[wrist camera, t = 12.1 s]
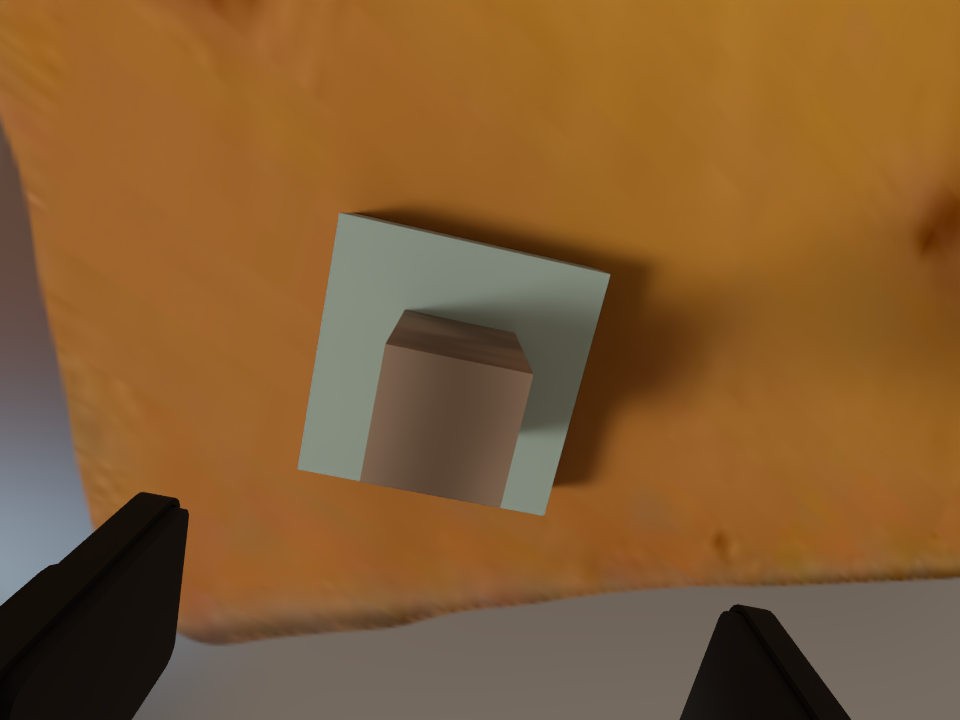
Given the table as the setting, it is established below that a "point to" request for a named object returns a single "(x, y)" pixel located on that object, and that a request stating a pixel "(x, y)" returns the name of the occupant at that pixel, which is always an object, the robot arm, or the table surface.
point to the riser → (458, 296)
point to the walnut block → (447, 409)
